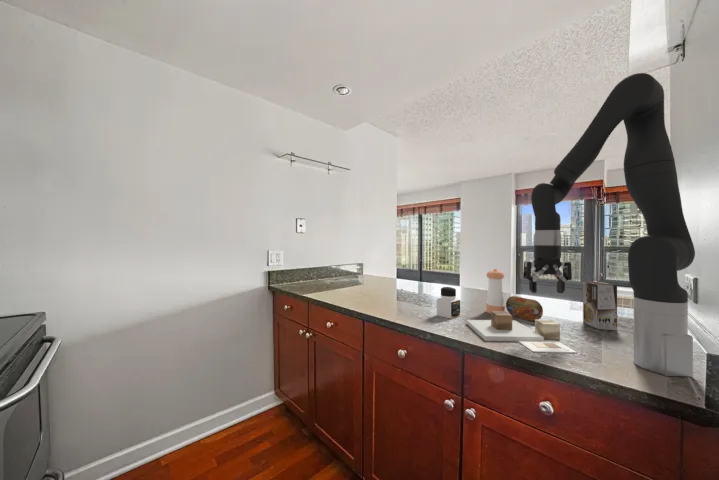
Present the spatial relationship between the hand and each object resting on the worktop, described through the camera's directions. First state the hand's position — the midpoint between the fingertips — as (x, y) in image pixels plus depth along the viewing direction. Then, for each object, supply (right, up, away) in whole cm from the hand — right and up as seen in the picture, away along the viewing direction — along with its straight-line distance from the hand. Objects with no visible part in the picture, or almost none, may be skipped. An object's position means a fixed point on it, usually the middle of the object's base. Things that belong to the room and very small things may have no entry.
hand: (546, 292), depth 92 cm
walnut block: (-13, -13, +5) cm, 19 cm away
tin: (+5, -15, +22) cm, 27 cm away
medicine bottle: (-25, -15, +25) cm, 38 cm away
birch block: (0, -15, 0) cm, 15 cm away
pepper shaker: (-2, -15, +30) cm, 34 cm away
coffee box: (+27, -15, +10) cm, 32 cm away
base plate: (-13, -15, +5) cm, 20 cm away
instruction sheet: (-7, -15, -9) cm, 18 cm away
